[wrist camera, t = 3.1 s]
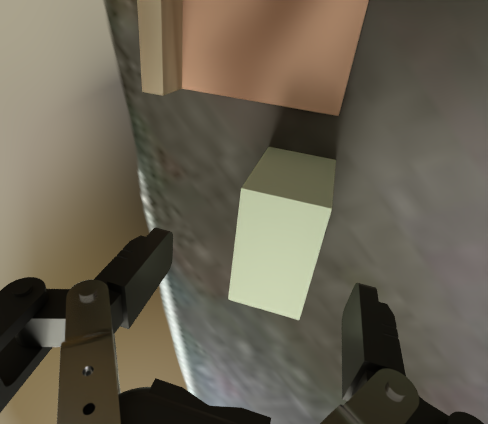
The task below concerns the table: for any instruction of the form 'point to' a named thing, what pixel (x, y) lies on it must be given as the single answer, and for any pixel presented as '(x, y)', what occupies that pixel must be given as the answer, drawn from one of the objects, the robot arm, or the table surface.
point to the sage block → (281, 230)
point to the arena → (252, 49)
